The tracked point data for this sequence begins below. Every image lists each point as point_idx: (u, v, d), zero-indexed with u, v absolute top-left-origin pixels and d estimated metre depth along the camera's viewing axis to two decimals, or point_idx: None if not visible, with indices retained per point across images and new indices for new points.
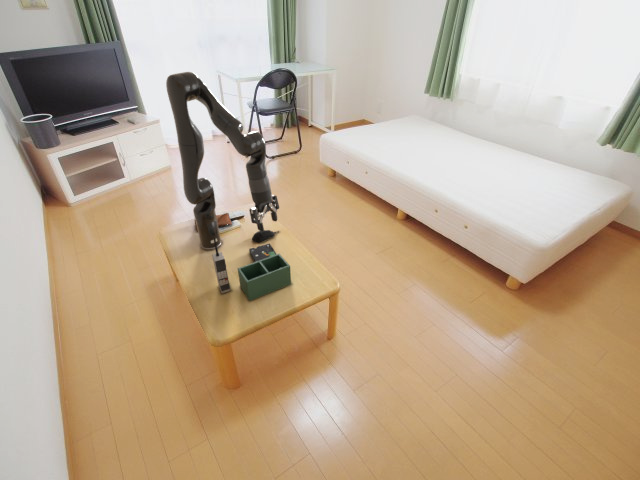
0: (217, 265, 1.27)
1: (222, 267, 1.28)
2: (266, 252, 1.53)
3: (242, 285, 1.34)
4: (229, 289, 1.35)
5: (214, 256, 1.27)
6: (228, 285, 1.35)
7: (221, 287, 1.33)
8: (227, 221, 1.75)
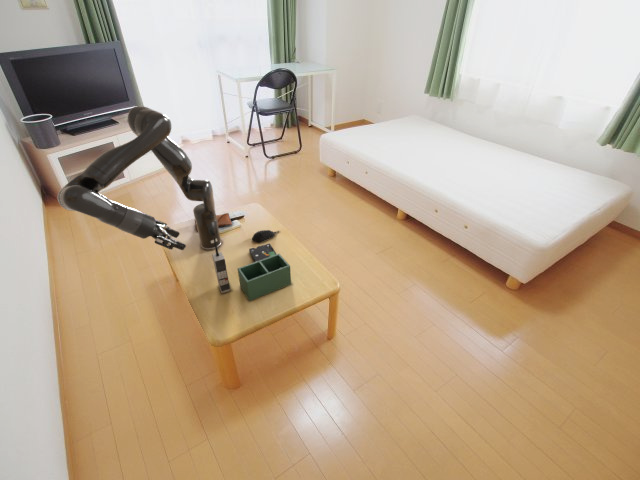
0: (217, 265, 1.27)
1: (222, 267, 1.28)
2: (266, 252, 1.53)
3: (242, 285, 1.34)
4: (229, 289, 1.35)
5: (214, 256, 1.27)
6: (228, 285, 1.35)
7: (221, 287, 1.33)
8: (227, 221, 1.75)
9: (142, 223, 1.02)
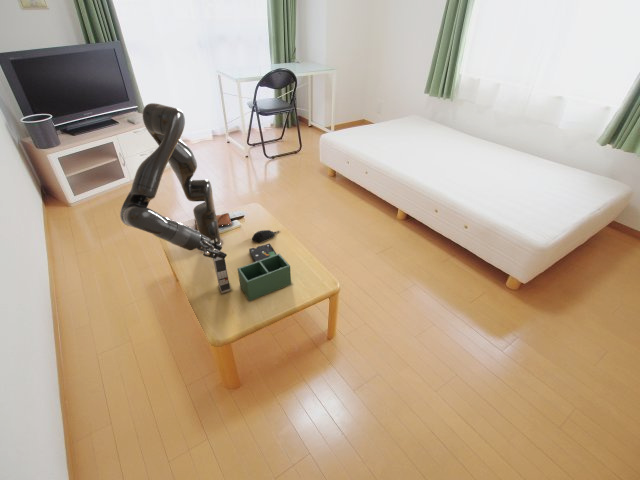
0: (217, 264, 1.27)
1: (222, 267, 1.28)
2: (266, 252, 1.53)
3: (242, 285, 1.34)
4: (229, 289, 1.35)
5: None
6: (228, 285, 1.35)
7: (221, 287, 1.33)
8: (227, 221, 1.75)
9: (190, 237, 1.13)
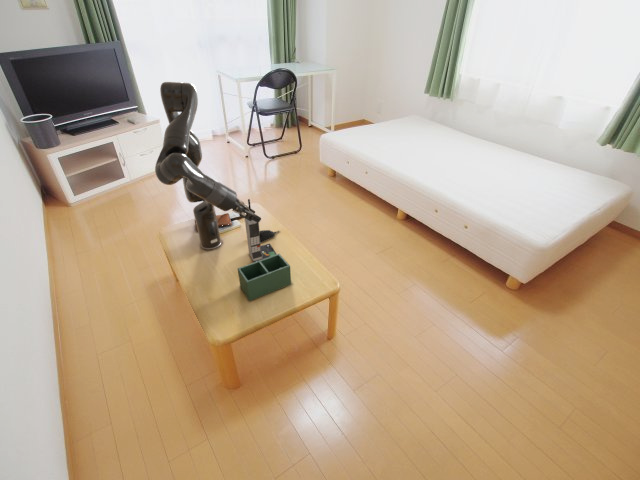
0: (251, 229, 1.21)
1: (255, 232, 1.23)
2: (266, 252, 1.53)
3: (242, 285, 1.34)
4: (261, 257, 1.29)
5: (247, 220, 1.21)
6: (260, 253, 1.29)
7: (253, 254, 1.28)
8: (227, 221, 1.75)
9: (227, 195, 1.08)
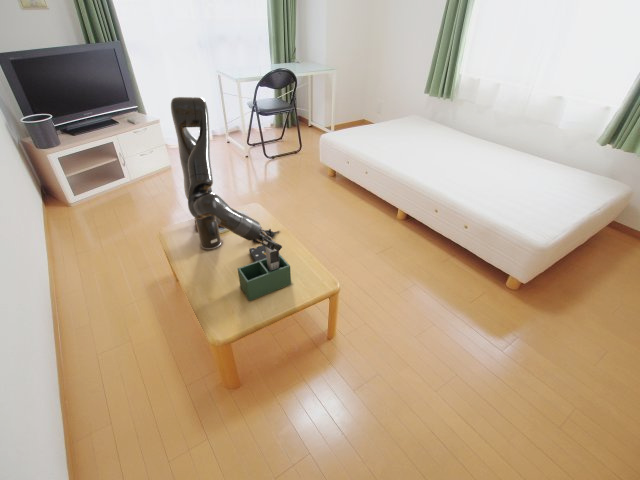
0: (271, 256, 1.30)
1: (275, 258, 1.32)
2: None
3: (242, 285, 1.34)
4: None
5: None
6: None
7: None
8: None
9: (252, 227, 1.16)
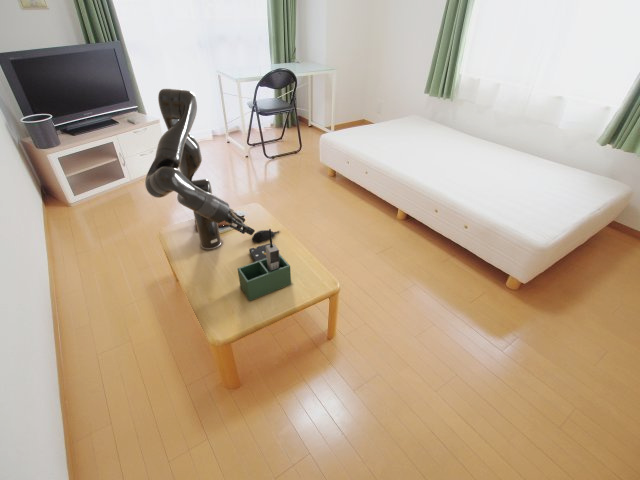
0: (271, 256, 1.30)
1: (275, 258, 1.32)
2: None
3: (242, 285, 1.34)
4: None
5: (268, 247, 1.30)
6: None
7: None
8: None
9: (219, 207, 1.06)
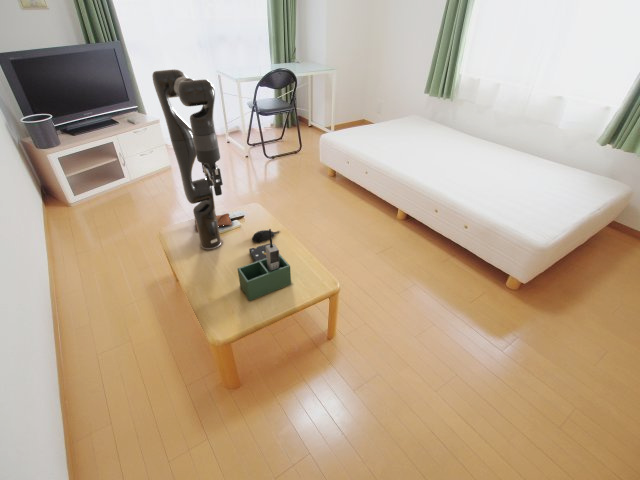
0: (271, 256, 1.30)
1: (275, 258, 1.32)
2: None
3: (242, 285, 1.34)
4: None
5: (268, 247, 1.30)
6: None
7: None
8: (227, 222, 1.74)
9: (215, 150, 1.10)
